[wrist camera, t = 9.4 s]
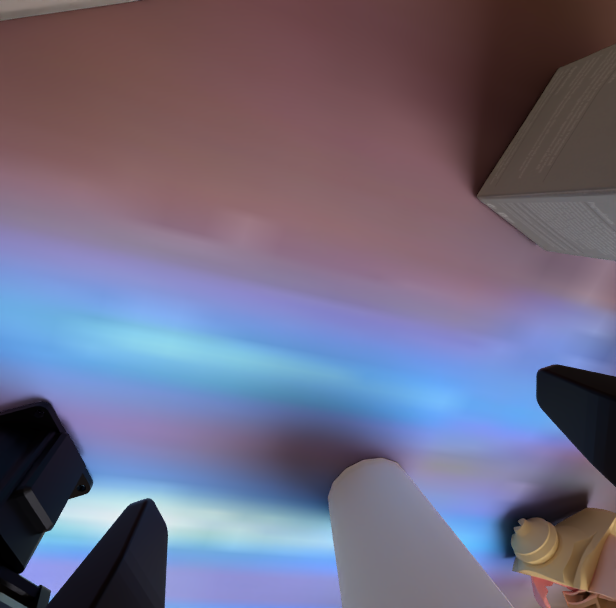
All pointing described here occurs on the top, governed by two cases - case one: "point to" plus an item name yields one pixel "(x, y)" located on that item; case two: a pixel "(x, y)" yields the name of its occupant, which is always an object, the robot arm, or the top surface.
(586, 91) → the skincare box
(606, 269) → the top surface
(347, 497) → the foam cup
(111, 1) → the tray
